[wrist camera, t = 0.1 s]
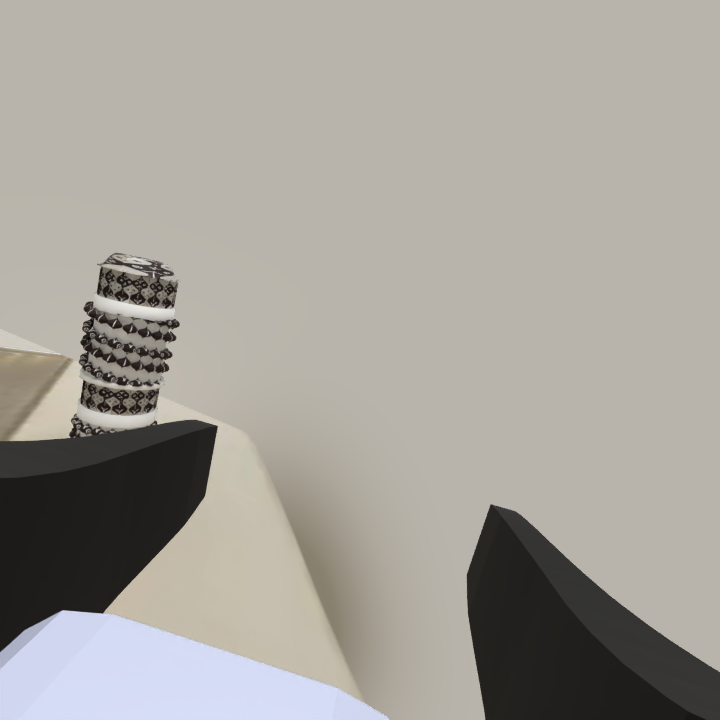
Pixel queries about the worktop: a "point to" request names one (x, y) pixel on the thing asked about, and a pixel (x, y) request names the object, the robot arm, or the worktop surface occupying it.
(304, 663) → the worktop surface
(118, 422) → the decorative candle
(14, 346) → the worktop surface
